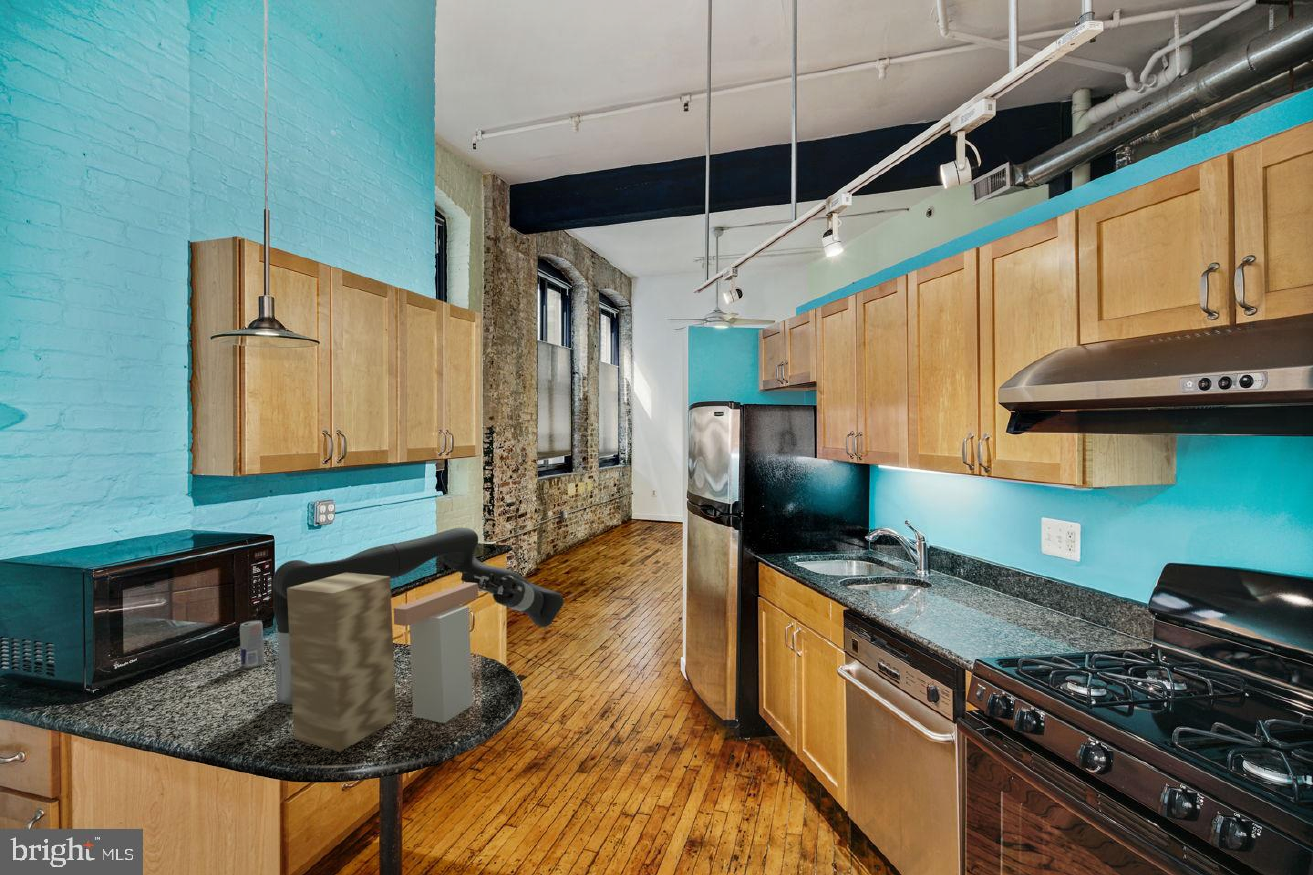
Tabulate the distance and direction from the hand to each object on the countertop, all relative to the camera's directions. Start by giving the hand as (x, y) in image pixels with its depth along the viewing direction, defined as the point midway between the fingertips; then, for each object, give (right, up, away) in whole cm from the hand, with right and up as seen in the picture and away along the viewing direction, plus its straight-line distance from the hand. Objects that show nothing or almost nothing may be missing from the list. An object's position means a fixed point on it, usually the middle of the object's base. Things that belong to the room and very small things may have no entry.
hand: (476, 576), depth 146 cm
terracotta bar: (-5, -5, -11) cm, 13 cm away
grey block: (-4, -28, -11) cm, 30 cm away
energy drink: (-70, -30, +22) cm, 79 cm away
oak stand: (-23, -29, -18) cm, 41 cm away
